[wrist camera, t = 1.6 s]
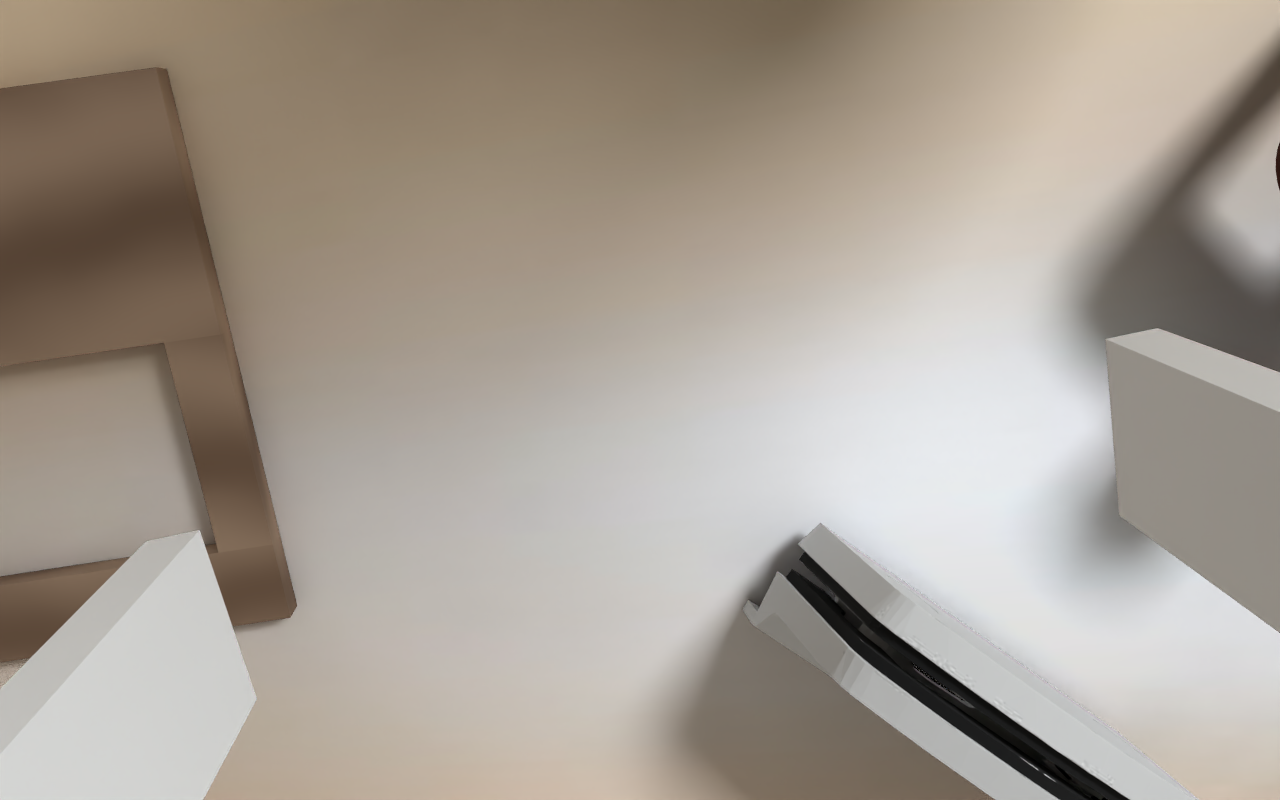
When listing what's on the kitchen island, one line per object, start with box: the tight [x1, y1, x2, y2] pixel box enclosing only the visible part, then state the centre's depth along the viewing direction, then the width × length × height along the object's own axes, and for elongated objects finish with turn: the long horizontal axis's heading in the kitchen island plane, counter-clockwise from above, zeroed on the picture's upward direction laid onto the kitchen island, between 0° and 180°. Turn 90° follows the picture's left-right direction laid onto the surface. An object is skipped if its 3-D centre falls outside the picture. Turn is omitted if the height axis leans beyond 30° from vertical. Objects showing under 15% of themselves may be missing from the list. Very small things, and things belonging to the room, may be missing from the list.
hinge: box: [743, 523, 1199, 800], centre depth 39 cm, size 17×5×10 cm, turn 53°
